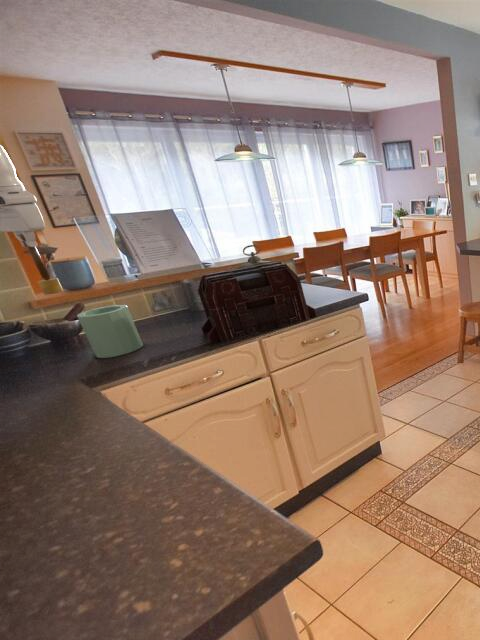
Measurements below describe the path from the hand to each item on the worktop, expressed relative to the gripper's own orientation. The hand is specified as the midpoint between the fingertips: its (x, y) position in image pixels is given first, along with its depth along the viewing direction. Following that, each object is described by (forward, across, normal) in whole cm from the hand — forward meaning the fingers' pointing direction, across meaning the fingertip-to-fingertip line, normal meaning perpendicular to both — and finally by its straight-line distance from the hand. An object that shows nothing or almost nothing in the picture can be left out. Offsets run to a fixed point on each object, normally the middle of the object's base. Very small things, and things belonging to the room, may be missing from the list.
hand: (30, 246), depth 129 cm
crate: (+36, +35, +38) cm, 64 cm away
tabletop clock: (+37, +9, +60) cm, 71 cm away
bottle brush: (+14, 0, 0) cm, 14 cm away
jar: (+36, +7, +6) cm, 37 cm away
